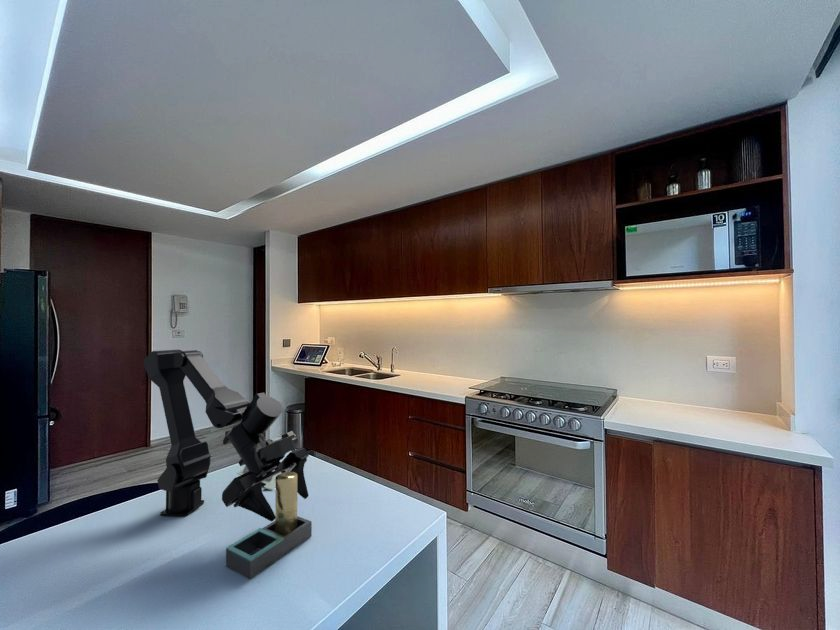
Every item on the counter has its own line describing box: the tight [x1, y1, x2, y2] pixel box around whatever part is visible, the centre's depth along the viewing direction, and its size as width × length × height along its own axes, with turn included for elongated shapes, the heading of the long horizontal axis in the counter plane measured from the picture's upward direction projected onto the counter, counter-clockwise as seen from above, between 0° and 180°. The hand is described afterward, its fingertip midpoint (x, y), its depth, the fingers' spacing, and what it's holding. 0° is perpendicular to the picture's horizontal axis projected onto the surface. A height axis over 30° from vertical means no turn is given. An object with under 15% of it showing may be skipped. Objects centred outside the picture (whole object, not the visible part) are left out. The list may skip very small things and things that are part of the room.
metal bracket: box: [236, 465, 281, 491], centre depth 100 cm, size 14×6×15 cm
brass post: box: [274, 472, 298, 536], centre depth 70 cm, size 4×4×13 cm
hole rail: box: [225, 515, 313, 580], centre depth 67 cm, size 14×7×3 cm, turn 151°
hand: (291, 508), depth 70 cm, fingers open, 9 cm apart
